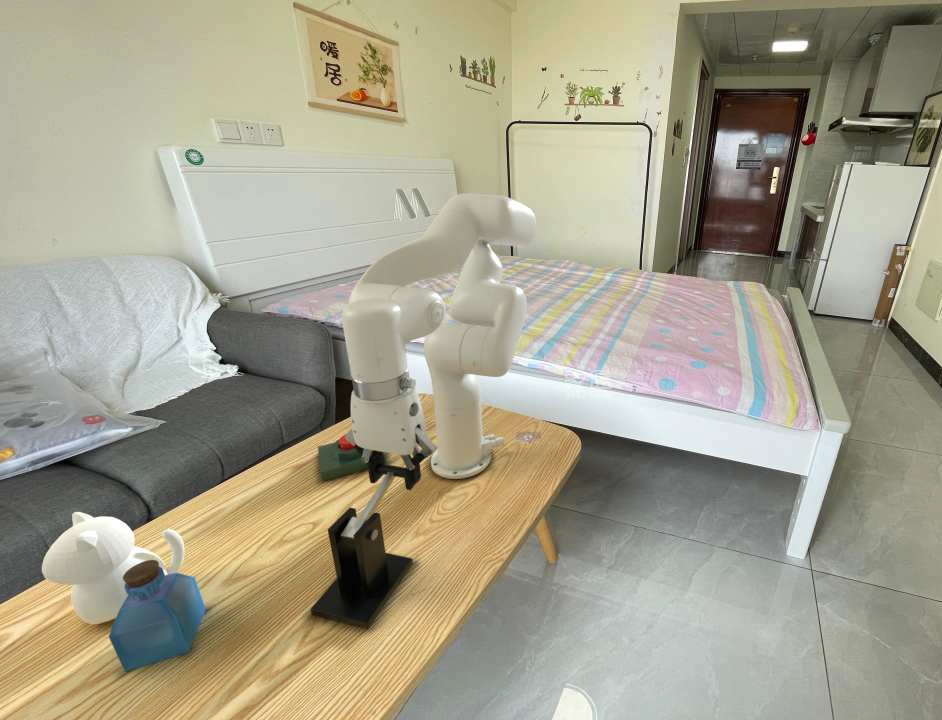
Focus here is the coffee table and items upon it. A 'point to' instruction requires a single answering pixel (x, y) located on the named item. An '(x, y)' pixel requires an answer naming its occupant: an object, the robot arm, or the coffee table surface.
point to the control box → (340, 461)
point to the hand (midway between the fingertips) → (395, 480)
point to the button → (345, 444)
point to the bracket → (360, 574)
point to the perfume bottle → (156, 616)
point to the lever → (372, 500)
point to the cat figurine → (101, 563)
